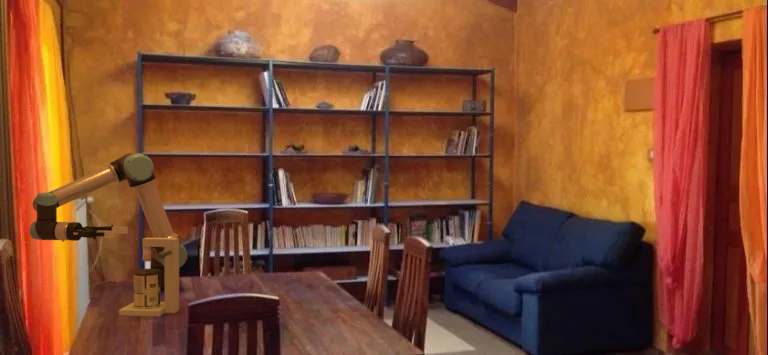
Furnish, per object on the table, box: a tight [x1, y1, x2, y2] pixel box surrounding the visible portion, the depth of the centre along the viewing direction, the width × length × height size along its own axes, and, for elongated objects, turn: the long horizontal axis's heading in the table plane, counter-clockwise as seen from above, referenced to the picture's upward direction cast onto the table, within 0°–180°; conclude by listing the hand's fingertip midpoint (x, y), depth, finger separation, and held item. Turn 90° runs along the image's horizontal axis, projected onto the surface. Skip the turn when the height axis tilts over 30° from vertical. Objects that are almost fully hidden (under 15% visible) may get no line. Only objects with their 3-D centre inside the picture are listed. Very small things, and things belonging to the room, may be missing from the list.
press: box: [118, 237, 180, 317], centre depth 274 cm, size 20×20×29 cm
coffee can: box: [132, 268, 161, 309], centre depth 276 cm, size 10×10×14 cm
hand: (120, 232), depth 285 cm, fingers open, 13 cm apart
